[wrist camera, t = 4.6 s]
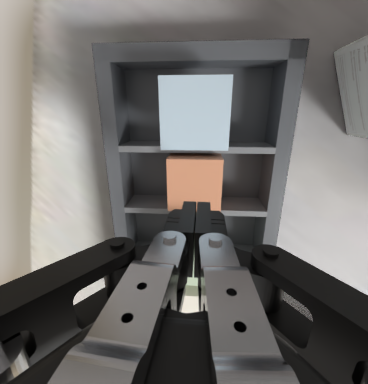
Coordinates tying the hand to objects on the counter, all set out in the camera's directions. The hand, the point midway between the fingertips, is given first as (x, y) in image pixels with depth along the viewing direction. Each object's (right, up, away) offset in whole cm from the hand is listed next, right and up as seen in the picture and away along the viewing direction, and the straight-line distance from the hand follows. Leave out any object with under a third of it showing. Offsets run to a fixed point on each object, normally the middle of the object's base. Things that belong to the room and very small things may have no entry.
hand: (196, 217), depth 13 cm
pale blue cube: (0, +7, +5) cm, 9 cm away
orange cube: (0, +3, +9) cm, 9 cm away
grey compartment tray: (0, +1, +11) cm, 11 cm away
